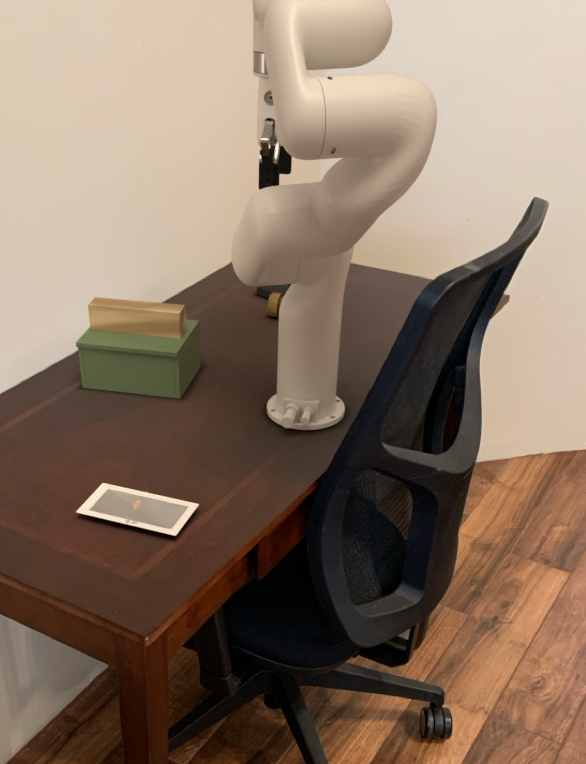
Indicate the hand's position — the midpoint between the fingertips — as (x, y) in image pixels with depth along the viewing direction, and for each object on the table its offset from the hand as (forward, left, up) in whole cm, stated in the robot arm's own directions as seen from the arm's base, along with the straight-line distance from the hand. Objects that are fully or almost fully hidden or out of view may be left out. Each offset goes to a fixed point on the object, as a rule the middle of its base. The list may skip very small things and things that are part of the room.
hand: (275, 181), depth 146 cm
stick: (-14, +20, -22) cm, 33 cm away
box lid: (-14, +20, -22) cm, 33 cm away
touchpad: (-54, +7, -31) cm, 62 cm away
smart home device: (+34, +1, -29) cm, 45 cm away
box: (-14, +20, -30) cm, 39 cm away
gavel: (+25, -2, -31) cm, 39 cm away
